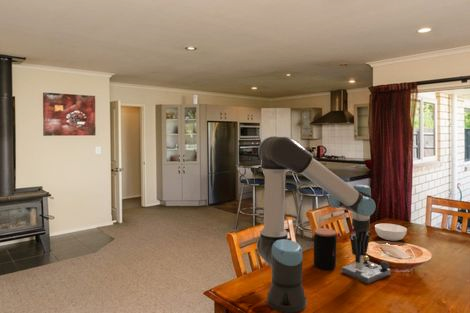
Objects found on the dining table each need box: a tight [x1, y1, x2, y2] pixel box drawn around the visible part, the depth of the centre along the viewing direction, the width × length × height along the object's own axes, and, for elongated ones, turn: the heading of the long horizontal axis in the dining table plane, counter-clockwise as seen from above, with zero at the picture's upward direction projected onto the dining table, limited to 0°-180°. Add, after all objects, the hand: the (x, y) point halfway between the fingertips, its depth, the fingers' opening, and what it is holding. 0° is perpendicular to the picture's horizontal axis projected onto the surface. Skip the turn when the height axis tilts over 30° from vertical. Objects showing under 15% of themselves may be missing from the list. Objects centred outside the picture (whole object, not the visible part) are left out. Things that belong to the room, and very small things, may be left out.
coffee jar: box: [313, 227, 337, 272], centre depth 161 cm, size 11×11×18 cm
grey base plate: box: [341, 260, 392, 285], centre depth 154 cm, size 17×14×2 cm
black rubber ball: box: [379, 260, 390, 269], centre depth 153 cm, size 4×4×4 cm
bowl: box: [374, 222, 408, 242], centre depth 205 cm, size 18×18×7 cm
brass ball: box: [363, 255, 370, 262], centre depth 162 cm, size 3×3×3 cm
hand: (359, 268), depth 151 cm, fingers closed
